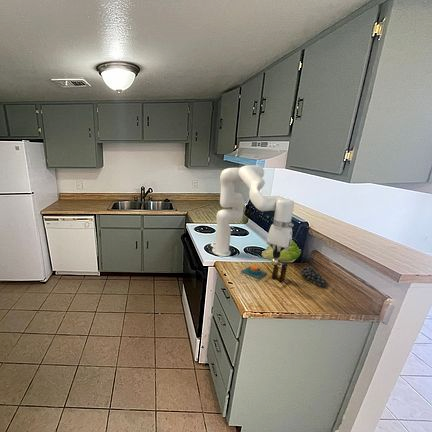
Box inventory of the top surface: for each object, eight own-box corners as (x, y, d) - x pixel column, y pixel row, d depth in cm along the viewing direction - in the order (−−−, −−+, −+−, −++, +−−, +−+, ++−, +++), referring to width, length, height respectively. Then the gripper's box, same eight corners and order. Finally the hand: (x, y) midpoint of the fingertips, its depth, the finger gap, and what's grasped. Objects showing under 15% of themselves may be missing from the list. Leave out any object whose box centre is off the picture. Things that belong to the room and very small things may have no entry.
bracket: (281, 288, 128) (285, 268, 124) (264, 281, 134) (267, 262, 131) (290, 281, 135) (294, 262, 132) (274, 275, 142) (277, 256, 138)
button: (249, 269, 140) (249, 266, 140) (252, 267, 143) (253, 264, 142) (255, 272, 137) (256, 269, 137) (259, 269, 140) (259, 267, 139)
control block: (240, 274, 142) (241, 268, 141) (249, 269, 148) (250, 263, 147) (257, 281, 134) (258, 275, 133) (266, 275, 140) (267, 269, 139)
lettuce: (269, 270, 154) (258, 261, 170) (308, 260, 152) (294, 251, 168) (264, 249, 152) (254, 241, 167) (304, 238, 150) (290, 231, 165)
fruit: (333, 275, 123) (308, 261, 137) (319, 281, 123) (296, 267, 137) (333, 288, 126) (309, 274, 140) (320, 294, 126) (297, 279, 140)
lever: (276, 265, 123) (278, 259, 123) (269, 262, 125) (271, 257, 125) (283, 269, 131) (285, 264, 132) (277, 267, 134) (279, 262, 134)
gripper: (301, 226, 116) (294, 260, 121) (269, 219, 127) (264, 251, 132) (295, 229, 112) (288, 264, 116) (263, 221, 123) (258, 254, 128)
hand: (275, 257), depth 124 cm, fingers closed
